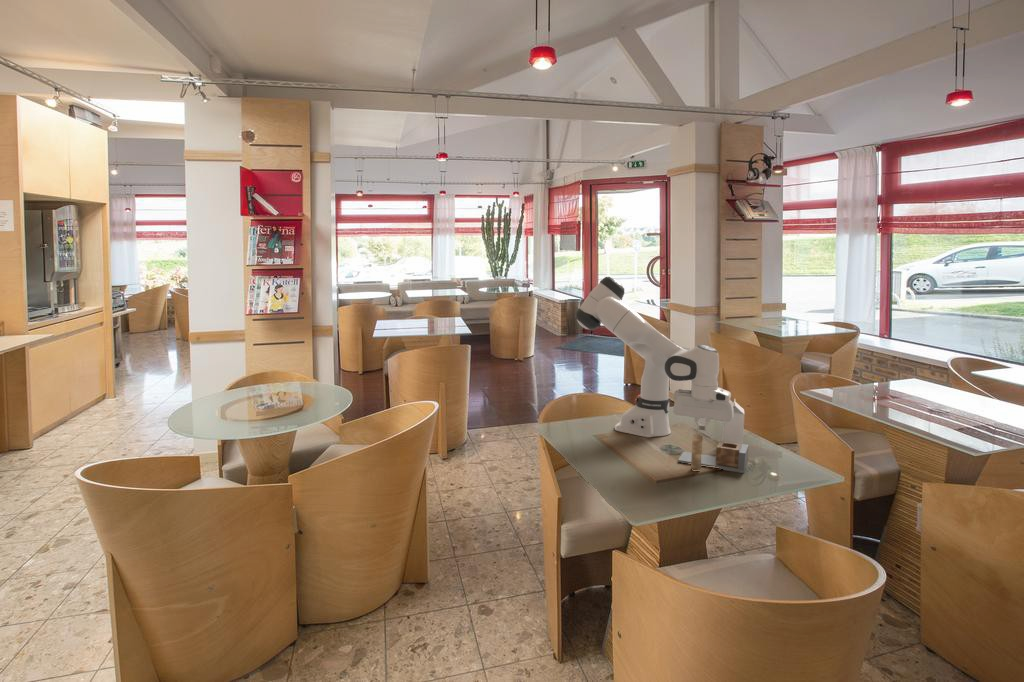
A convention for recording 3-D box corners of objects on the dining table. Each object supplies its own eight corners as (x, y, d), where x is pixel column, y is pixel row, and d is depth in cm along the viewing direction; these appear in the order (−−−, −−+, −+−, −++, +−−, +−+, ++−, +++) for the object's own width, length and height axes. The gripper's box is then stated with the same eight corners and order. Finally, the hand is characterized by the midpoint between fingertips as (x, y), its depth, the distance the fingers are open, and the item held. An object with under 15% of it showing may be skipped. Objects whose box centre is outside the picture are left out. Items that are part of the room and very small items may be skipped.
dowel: (690, 470, 211) (691, 436, 209) (691, 467, 213) (693, 434, 212) (699, 472, 209) (701, 438, 207) (701, 469, 212) (703, 435, 210)
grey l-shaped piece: (677, 462, 218) (678, 443, 217) (683, 454, 227) (684, 435, 226) (743, 473, 209) (745, 453, 207) (747, 464, 217) (748, 444, 216)
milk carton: (741, 448, 235) (744, 399, 232) (741, 453, 228) (745, 403, 225) (721, 445, 237) (724, 397, 234) (721, 451, 230) (724, 401, 227)
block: (715, 463, 214) (716, 447, 213) (719, 457, 220) (720, 441, 219) (738, 467, 210) (739, 450, 209) (741, 460, 217) (742, 444, 216)
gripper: (672, 390, 218) (670, 428, 220) (733, 397, 209) (730, 436, 212) (675, 386, 224) (673, 423, 226) (735, 393, 215) (732, 431, 217)
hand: (701, 430), depth 219 cm, fingers closed
